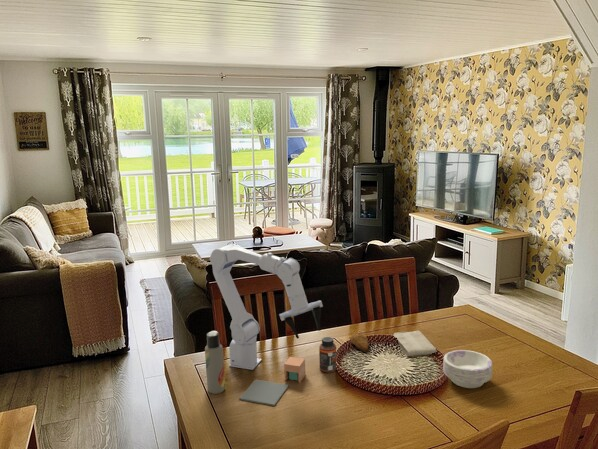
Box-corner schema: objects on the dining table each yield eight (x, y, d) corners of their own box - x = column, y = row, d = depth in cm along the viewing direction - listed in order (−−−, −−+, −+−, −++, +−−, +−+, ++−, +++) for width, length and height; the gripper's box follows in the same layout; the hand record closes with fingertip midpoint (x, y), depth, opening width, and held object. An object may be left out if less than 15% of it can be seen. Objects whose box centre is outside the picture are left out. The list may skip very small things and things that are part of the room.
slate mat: (239, 399, 153) (239, 398, 153) (255, 380, 164) (255, 379, 164) (274, 406, 149) (274, 404, 149) (288, 386, 160) (288, 385, 160)
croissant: (345, 339, 195) (345, 327, 194) (361, 337, 196) (361, 325, 195) (357, 354, 182) (357, 342, 181) (374, 352, 184) (374, 339, 183)
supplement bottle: (335, 374, 168) (335, 343, 165) (318, 372, 169) (317, 342, 166) (337, 365, 173) (337, 336, 171) (321, 364, 174) (320, 335, 172)
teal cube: (289, 379, 165) (289, 371, 164) (292, 375, 168) (292, 367, 167) (297, 380, 164) (297, 372, 163) (300, 376, 167) (300, 368, 166)
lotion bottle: (228, 386, 161) (224, 330, 157) (220, 395, 156) (216, 337, 152) (212, 383, 163) (209, 328, 159) (204, 392, 158) (200, 335, 154)
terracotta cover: (284, 380, 164) (284, 363, 163) (290, 372, 169) (290, 356, 168) (299, 382, 162) (299, 366, 161) (305, 374, 167) (305, 358, 166)
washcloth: (418, 335, 198) (418, 328, 197) (438, 355, 180) (438, 347, 180) (390, 337, 196) (390, 330, 195) (407, 358, 178) (407, 350, 178)
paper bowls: (456, 365, 171) (457, 344, 170) (499, 380, 161) (500, 358, 159) (434, 381, 161) (434, 359, 159) (478, 399, 150) (479, 375, 149)
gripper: (277, 304, 156) (289, 344, 157) (319, 289, 158) (331, 329, 159) (274, 300, 163) (286, 338, 164) (315, 286, 165) (326, 324, 166)
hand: (308, 333), depth 162 cm, fingers open, 7 cm apart
